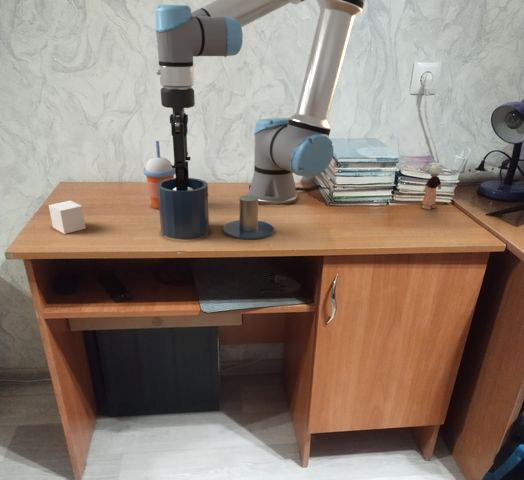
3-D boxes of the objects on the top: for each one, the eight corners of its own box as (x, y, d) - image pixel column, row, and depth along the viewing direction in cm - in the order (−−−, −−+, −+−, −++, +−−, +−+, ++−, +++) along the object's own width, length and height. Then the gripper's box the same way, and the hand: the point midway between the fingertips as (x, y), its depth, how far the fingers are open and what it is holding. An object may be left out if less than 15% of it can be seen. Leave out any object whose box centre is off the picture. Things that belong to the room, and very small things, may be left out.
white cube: (74, 222, 139) (70, 200, 136) (85, 228, 136) (82, 205, 132) (52, 227, 135) (48, 205, 132) (64, 234, 132) (60, 210, 129)
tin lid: (271, 224, 142) (272, 190, 137) (275, 242, 131) (277, 206, 126) (223, 223, 141) (222, 189, 136) (223, 242, 130) (222, 205, 125)
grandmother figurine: (427, 203, 161) (436, 161, 154) (439, 206, 159) (448, 163, 152) (415, 209, 156) (424, 165, 149) (427, 212, 154) (436, 168, 147)
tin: (209, 224, 141) (207, 177, 134) (208, 241, 130) (207, 191, 123) (163, 224, 140) (160, 177, 133) (159, 241, 129) (155, 191, 123)
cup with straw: (171, 212, 148) (167, 145, 138) (141, 209, 149) (135, 143, 140) (182, 202, 155) (178, 139, 146) (153, 200, 157) (147, 136, 147)
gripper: (163, 82, 124) (170, 181, 136) (156, 92, 109) (164, 202, 121) (195, 82, 124) (199, 181, 137) (192, 93, 109) (197, 202, 122)
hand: (183, 191), depth 129 cm, fingers closed on chess piece, 5 cm apart
